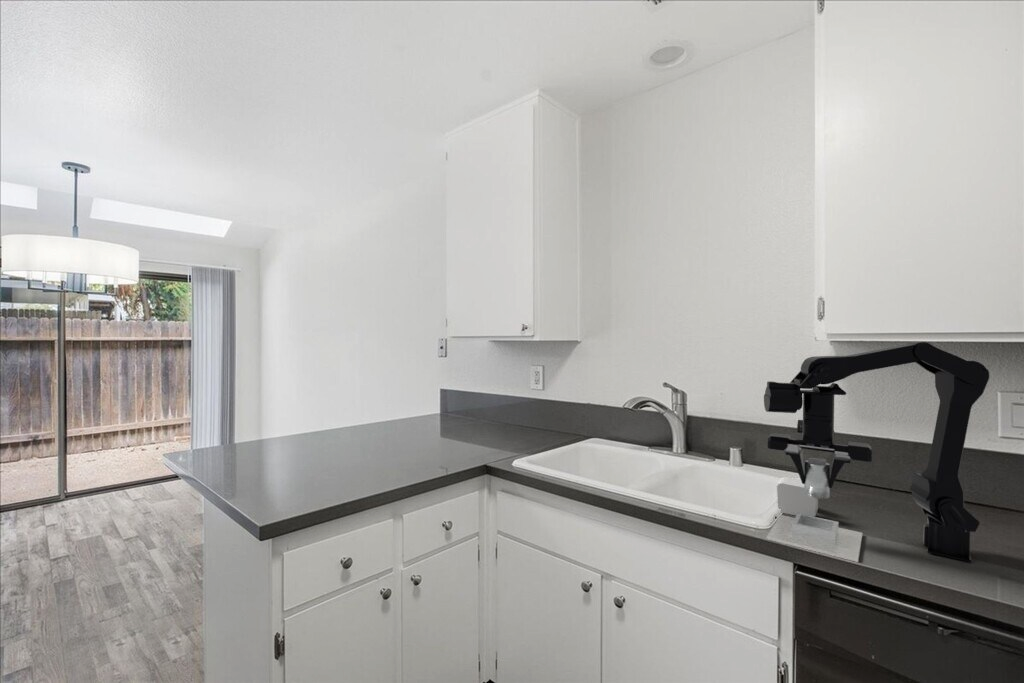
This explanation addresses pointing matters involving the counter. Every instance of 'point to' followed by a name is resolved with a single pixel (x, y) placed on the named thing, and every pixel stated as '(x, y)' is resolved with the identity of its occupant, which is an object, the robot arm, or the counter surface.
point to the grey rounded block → (795, 498)
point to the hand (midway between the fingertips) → (816, 485)
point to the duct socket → (817, 536)
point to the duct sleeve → (817, 478)
